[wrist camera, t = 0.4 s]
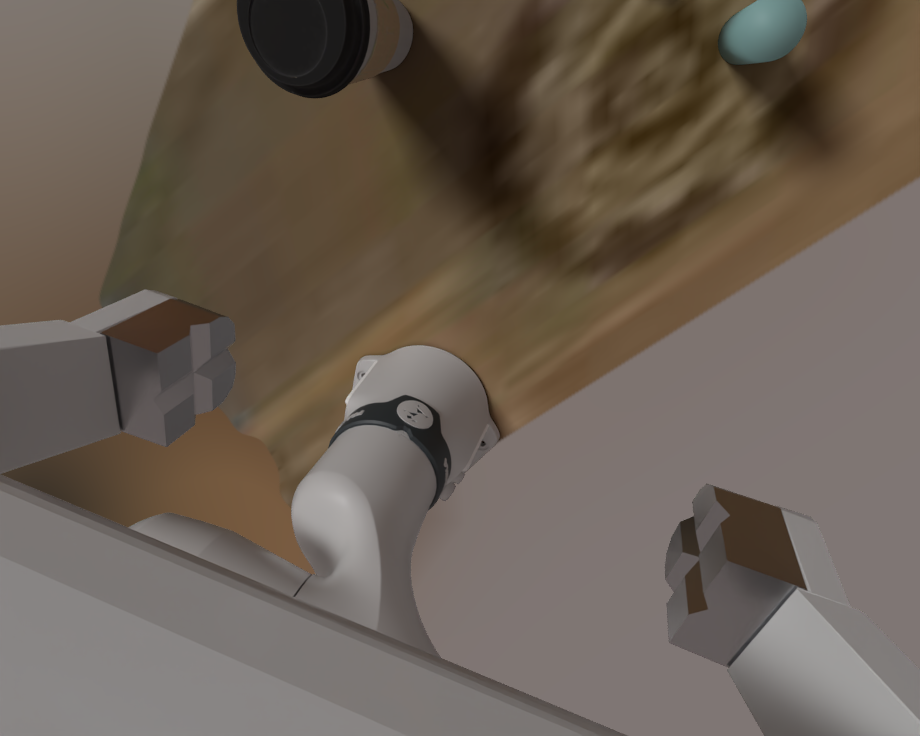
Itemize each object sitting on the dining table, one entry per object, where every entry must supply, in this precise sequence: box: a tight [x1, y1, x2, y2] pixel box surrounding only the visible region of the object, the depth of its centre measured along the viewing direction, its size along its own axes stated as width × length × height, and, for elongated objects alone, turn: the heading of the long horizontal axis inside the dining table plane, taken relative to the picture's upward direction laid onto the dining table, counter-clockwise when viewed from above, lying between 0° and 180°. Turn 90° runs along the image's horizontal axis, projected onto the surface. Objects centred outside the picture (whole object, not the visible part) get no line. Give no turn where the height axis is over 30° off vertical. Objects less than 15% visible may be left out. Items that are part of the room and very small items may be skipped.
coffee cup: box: [237, 0, 413, 98], centre depth 42 cm, size 10×9×15 cm
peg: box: [718, 0, 807, 65], centre depth 37 cm, size 4×4×10 cm
